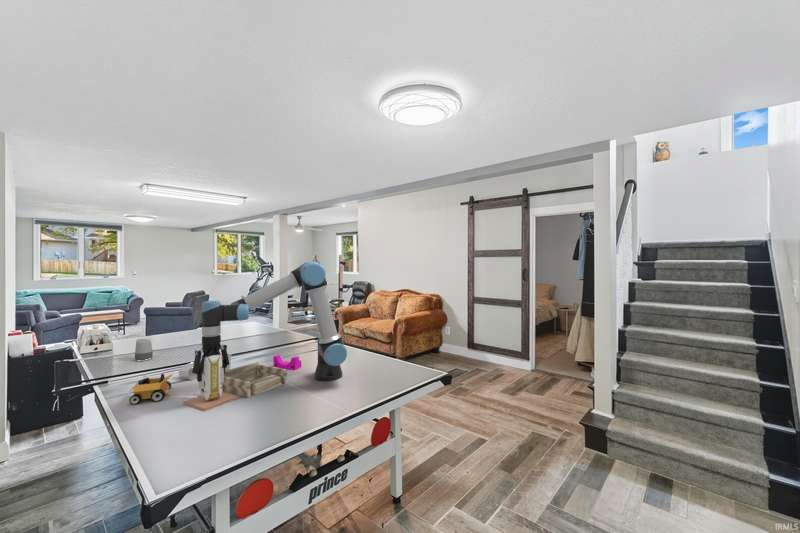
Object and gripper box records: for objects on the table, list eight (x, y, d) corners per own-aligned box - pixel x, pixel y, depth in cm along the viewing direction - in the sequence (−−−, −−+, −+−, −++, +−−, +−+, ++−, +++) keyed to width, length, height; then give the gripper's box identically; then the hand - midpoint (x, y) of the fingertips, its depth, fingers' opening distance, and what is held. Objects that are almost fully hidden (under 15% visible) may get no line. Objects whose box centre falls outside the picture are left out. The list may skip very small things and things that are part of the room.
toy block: (301, 367, 207) (301, 355, 207) (295, 370, 201) (295, 358, 201) (279, 366, 211) (279, 353, 211) (273, 368, 205) (273, 356, 205)
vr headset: (205, 373, 195) (202, 353, 195) (214, 373, 191) (211, 353, 191) (179, 381, 183) (176, 360, 183) (188, 381, 178) (185, 360, 179)
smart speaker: (145, 362, 219) (145, 340, 220) (131, 362, 220) (131, 340, 220) (156, 358, 229) (156, 337, 229) (142, 358, 229) (142, 337, 229)
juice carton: (217, 392, 161) (217, 351, 161) (223, 397, 155) (223, 355, 155) (199, 396, 156) (199, 354, 156) (205, 401, 150) (204, 358, 150)
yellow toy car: (137, 394, 165) (137, 372, 165) (174, 390, 170) (174, 368, 171) (126, 406, 151) (126, 382, 151) (167, 400, 157) (167, 377, 157)
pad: (238, 398, 159) (238, 396, 159) (205, 411, 145) (204, 408, 145) (217, 392, 166) (217, 390, 166) (183, 403, 152) (183, 401, 152)
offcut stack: (281, 385, 176) (281, 376, 176) (254, 396, 162) (254, 385, 162) (272, 383, 180) (272, 374, 180) (245, 393, 166) (245, 383, 166)
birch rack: (287, 382, 180) (286, 367, 180) (248, 397, 159) (248, 380, 159) (257, 376, 191) (256, 361, 191) (217, 389, 170) (217, 373, 170)
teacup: (241, 368, 201) (238, 351, 200) (225, 378, 186) (223, 360, 186) (222, 369, 202) (219, 353, 202) (205, 379, 187) (202, 361, 187)
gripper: (227, 330, 167) (228, 377, 167) (182, 338, 148) (182, 391, 148) (237, 331, 163) (238, 379, 163) (192, 340, 144) (192, 394, 144)
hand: (211, 384), depth 156 cm, fingers closed on juice carton, 9 cm apart
